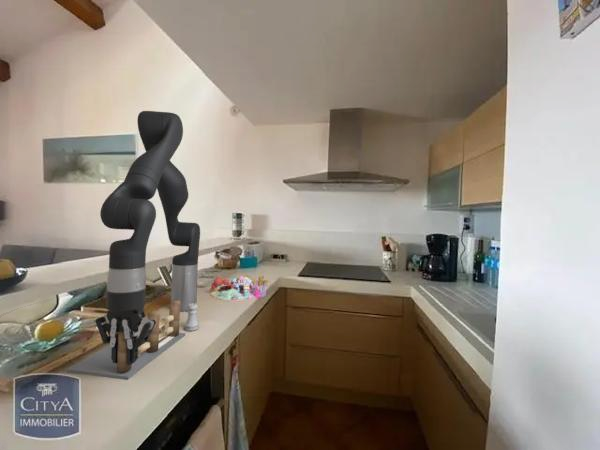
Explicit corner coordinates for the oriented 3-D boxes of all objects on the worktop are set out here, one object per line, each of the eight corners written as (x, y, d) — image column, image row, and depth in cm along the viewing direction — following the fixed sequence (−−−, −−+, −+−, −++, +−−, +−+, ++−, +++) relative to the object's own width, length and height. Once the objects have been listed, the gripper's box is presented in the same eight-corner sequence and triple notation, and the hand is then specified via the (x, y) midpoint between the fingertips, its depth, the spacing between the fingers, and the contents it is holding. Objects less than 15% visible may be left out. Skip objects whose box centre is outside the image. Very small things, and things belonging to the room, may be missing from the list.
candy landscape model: (236, 285, 150) (237, 268, 150) (275, 292, 141) (276, 274, 140) (202, 296, 128) (202, 276, 128) (245, 305, 118) (246, 283, 118)
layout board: (139, 330, 88) (139, 328, 88) (185, 335, 86) (185, 332, 86) (66, 371, 64) (67, 368, 64) (127, 379, 62) (127, 376, 62)
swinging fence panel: (142, 351, 73) (144, 316, 73) (152, 352, 73) (154, 317, 72) (113, 371, 63) (115, 331, 63) (125, 373, 63) (126, 332, 63)
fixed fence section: (172, 332, 86) (173, 300, 86) (180, 333, 86) (182, 300, 85) (143, 352, 73) (145, 314, 73) (153, 353, 73) (155, 315, 73)
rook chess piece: (193, 325, 94) (194, 301, 94) (202, 328, 92) (203, 303, 92) (181, 329, 90) (182, 304, 90) (190, 332, 88) (191, 307, 88)
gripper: (165, 285, 67) (163, 357, 67) (111, 280, 69) (109, 351, 69) (144, 293, 60) (141, 375, 60) (84, 288, 61) (82, 367, 62)
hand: (124, 361), depth 65 cm, fingers closed on swinging fence panel, 3 cm apart
